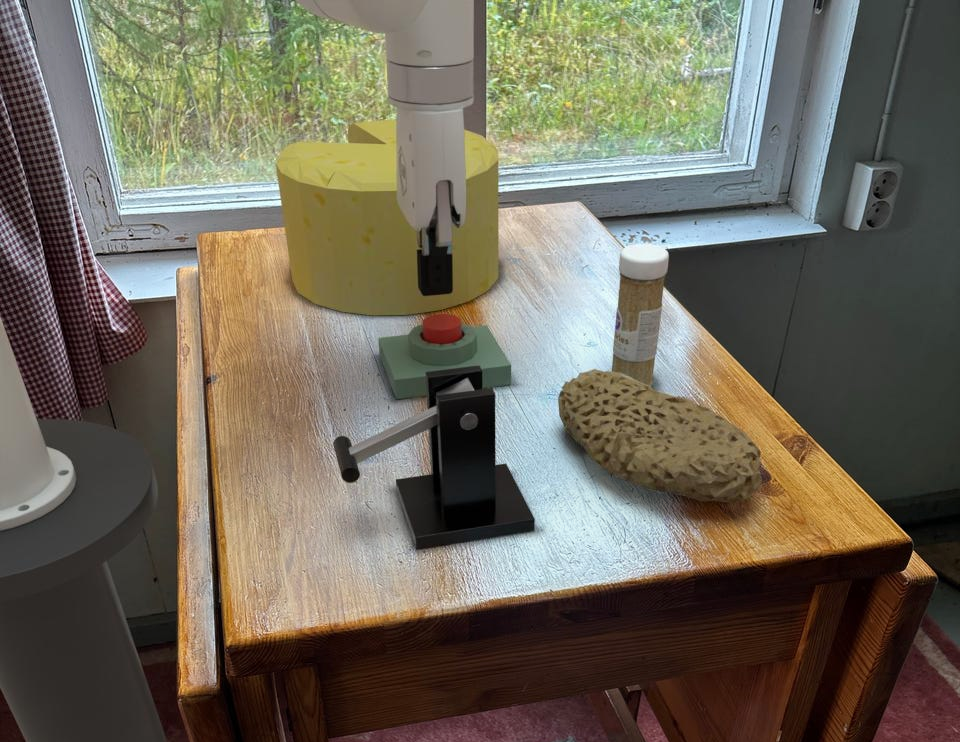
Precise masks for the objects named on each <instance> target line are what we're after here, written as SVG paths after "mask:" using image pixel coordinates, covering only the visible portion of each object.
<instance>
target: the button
mask: <svg viewBox="0 0 960 742" xmlns="http://www.w3.org/2000/svg"><path fill="white" fill-rule="evenodd" d="M461 322H462V319H461V317H459V316H457V315H455V314H451V313H435V314H432V315H431V314H430V315H429V316H426V317H424V319H423V320H422V321H421V324H422V327H423V340H424V341H426V342H428V343H433V344H449V343H454V342H457V341H459V340H461V339H462V323H463V322H462V323H461Z"/></svg>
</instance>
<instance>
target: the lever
mask: <svg viewBox="0 0 960 742" xmlns="http://www.w3.org/2000/svg"><path fill="white" fill-rule="evenodd" d="M473 390H474V388H473V386H472V384H471V383H470V381H469V379H468V378H466V379H464V380H462V381H460V382H458V383H456V384H454V385H451V386H449V387H447V388H445V389H443V390H441V391H439V392H437V393H436V395H442V394H450V393H458V392H465V391H473ZM436 425H437V405H436V406H434V407H432V408H430V409H428V410H427V409H426V410H423V411H422V412H420V413H417V414H415V415H413V416H412V417H409V418H406V419H405V420H403V421H400V422H399V423H397V424H395V425H392V426H391V427H389V428H386V429H385V430H382V431H381V432H378V433H376V434H374V435H372V436H370V437H368V438H366V439H364V440H362V441H360V442H357V443H356V444H354V445H353V444H352V441H351V439H350V438H349V437H347V436H346V435H340V436H337V437H336V438H334V440H333V442H332V447H333V450H334V454H335V458H336V461H337V465H338V468H339V472H340V477H341V479H342V480H343V481H344V482H345V483H347V484H353V483H356V482H357V481H358V480H359V479H360V477H361V471H360V469H359V466H358V465H359V463H362V462H364V461H366V460H368V459H370V458H372V457H374V456H376V455H378V454H380V453H382V452H384V451H386V450H388V449H391V448H392V447H394V446H397V445H398V444H401V443H403V442H405V441H407V440H409V439H412V438H413V437H415V436H417V435H419V434H421V433H424V432H425V431H429V429H430V428H432V427H434V426H436Z"/></svg>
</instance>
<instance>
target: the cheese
mask: <svg viewBox="0 0 960 742" xmlns="http://www.w3.org/2000/svg"><path fill="white" fill-rule="evenodd" d="M464 132H465V163H466V213H465V222H464V224H463V225H462V226H461V227H460V228H457V227H456V226H455V225H454V223H453V236H452V254H453V291H452V293H451V294H444V295H432V296H423V295H422V294H421V292H420V290H419V288H418V271H417V250H419V249H422V248H418V244H417V231H416V230H415V229H413V228H412V227H411V225H410V224H409V222H408V221H407V219H406V218H405V216H404V214H403V212H402V211H401V209H400V207H399V205H398V201H397V180H396V119H389V120H387V119H386V120H385V119H383V120H381V119H379V120H371V121H359V122H352V123H351V124H350V125H348V128H347V139H348V142H325V141H324V142H323V141H321V142H320V141H319V142H318V141H296V142H293V143H291V144H288V145H287V146H285V147H284V148H283V149H282V151H281V152H280V154H279V156H278V158H277V159H276V161H275V168H276V176H277V182H278V190H279V197H280V204H281V211H282V218H283V225H284V232H285V239H286V246H287V253H288V260H289V267H290V275H291V281H292V283H293V285H294V288H295V290H296V291H297V293H298V294H299V295H301V296H302V297H304V298H305V299H307V300H308V301H309V302H311V303H313V304H314V305H317V306H321V307H324V308H328V309H331V310H333V311H337V312H339V313H340V312H342V313H350V314H358V315H366V316H409V315H416V314H424V313H430V312H436V311H442V310H446V309H448V308H449V309H450V308H453V307H455V306H458V305H462V304H465V303H469V302H471V301H472V300H474V299H476V298H477V297H479V296H481V295H483V294H485V293H486V292H489V291H490V289H492V287H493V286H494V284H495V283H496V282H497V281H498V279H499V149H498V148H497V147H496V146H495V145H494V144H493V143H491V142H490V141H489V140H487V138H485V137H484V136H483V135H481V134H478V133H476V132H474V131H473V132H472V131H470V130H467V129H465V128H464Z"/></svg>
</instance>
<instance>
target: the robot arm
mask: <svg viewBox="0 0 960 742" xmlns="http://www.w3.org/2000/svg"><path fill="white" fill-rule="evenodd" d="M294 1H295V2H296V3H297V4H298V5H299V6H301V7H302V8H303V9H304V10H306V11H308V12H309V13H311V14H313V15H315V16H317V17H320V18H322V19H326V20H330V21H332V22H336V23H339V24H345V25H348V26H351V27H355V28H359V29H362V30H365V31H367V32H371V33H375V34H384V39H385V57H386V81H387V102H388V104H389V105H390V106H392V107H396V115H395V116H396V117H395V120H396V180H397V201H398V205H399V207H400V209H401V211H402V212H403V214H404V216H405V218H406V219H407V221H408V222H409V224H410V225H411V227H412V228H413V229H415V230H416V231H417V244H418V248H422V249H419V250H417V271H418V288H419V290H420V292H421V294H422V295H423V296H432V295H444V294H451V293H452V291H453V254H452V236H453V223H454V225H455V226H456V227H457V228H460V227H461V226H462V225H463V224H464V222H465V213H466V163H465V132H464V129H465V119H464V108H468V107H470V106H471V105H473V104H474V101H475V99H474V97H475V96H474V95H475V89H474V88H475V82H474V81H475V79H474V78H475V76H474V75H475V71H474V70H475V66H474V65H475V60H474V59H475V58H474V57H475V53H474V52H475V51H474V50H475V48H474V47H475V44H474V41H475V40H474V39H475V35H474V34H475V32H474V31H475V0H294ZM75 483H76V473H75V470H74V467H73V465H72V462H71V460H70V459H69V458H68V457H67V456H66V455H65V454H63V453H61V452H60V451H58V450H55V449H52V448H49V447H46V445H45V442H44V439H43V436H42V433H41V430H40V428H39V425H38V422H37V416H36V413H35V411H34V408H33V405H32V402H31V399H30V397H29V394H28V390H27V387H26V386H25V381H24V380H23V377H22V374H21V372H20V369H19V365H18V363H17V360H16V357H15V354H14V351H13V348H12V346H11V343H10V339H9V337H8V334H7V332H6V328H5V326H4V322H3V320H2V317H1V316H0V531H3V530H8V529H12V528H15V527H18V526H21V525H24V524H27V523H29V522H32V521H34V520H36V519H38V518H40V517H42V516H44V515H46V514H47V513H49V512H51V511H52V510H54V509H55V508H56V507H58V506H59V505H60V504H62V503H63V502H64V501H65V499H66V498H67V497H68V496H69V495H70V494H71V492H72V490H73V489H74V487H75Z"/></svg>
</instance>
